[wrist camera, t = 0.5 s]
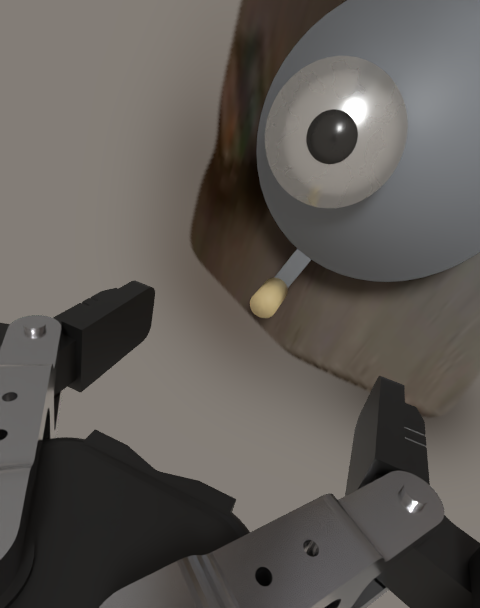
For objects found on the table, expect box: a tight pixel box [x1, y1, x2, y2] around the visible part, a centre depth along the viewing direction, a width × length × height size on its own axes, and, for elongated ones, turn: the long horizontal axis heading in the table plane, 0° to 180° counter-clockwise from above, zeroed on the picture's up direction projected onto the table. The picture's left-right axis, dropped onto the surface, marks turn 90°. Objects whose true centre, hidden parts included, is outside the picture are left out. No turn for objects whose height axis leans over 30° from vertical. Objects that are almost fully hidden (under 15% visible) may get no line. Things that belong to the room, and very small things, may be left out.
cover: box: [265, 56, 408, 208], centre depth 29 cm, size 10×10×3 cm
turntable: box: [250, 0, 480, 318], centre depth 30 cm, size 26×21×6 cm
